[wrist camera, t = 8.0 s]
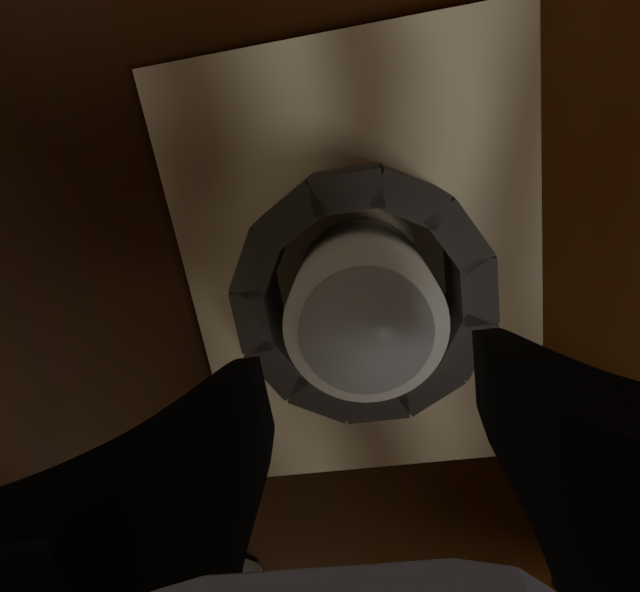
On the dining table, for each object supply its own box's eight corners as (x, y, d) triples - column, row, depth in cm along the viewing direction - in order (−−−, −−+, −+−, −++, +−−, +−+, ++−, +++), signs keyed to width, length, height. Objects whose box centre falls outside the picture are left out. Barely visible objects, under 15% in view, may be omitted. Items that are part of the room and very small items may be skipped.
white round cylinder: (418, 208, 18) (445, 238, 13) (430, 330, 19) (458, 399, 14) (289, 228, 18) (265, 264, 13) (310, 344, 20) (297, 416, 15)
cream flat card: (528, -2, 16) (583, -43, 12) (535, 438, 22) (574, 501, 18) (143, 72, 18) (87, 56, 14) (244, 465, 23) (223, 529, 20)
